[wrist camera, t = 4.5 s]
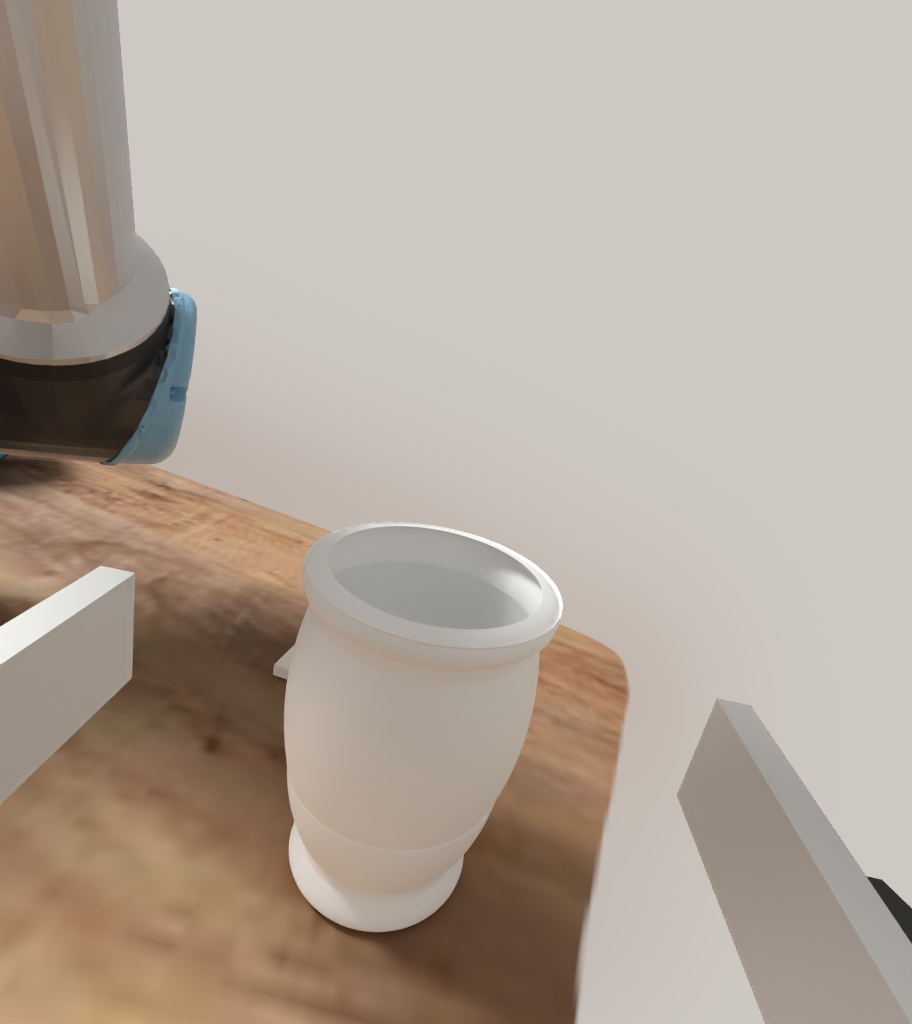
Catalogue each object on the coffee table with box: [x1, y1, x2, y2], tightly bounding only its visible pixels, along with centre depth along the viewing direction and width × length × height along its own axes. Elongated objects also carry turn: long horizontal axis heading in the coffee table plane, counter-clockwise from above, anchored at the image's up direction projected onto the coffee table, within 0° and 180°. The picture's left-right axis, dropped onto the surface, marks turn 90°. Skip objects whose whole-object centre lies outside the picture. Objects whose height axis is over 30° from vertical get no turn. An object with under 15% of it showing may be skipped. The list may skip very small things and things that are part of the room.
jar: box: [284, 522, 563, 932], centre depth 25 cm, size 11×10×15 cm
